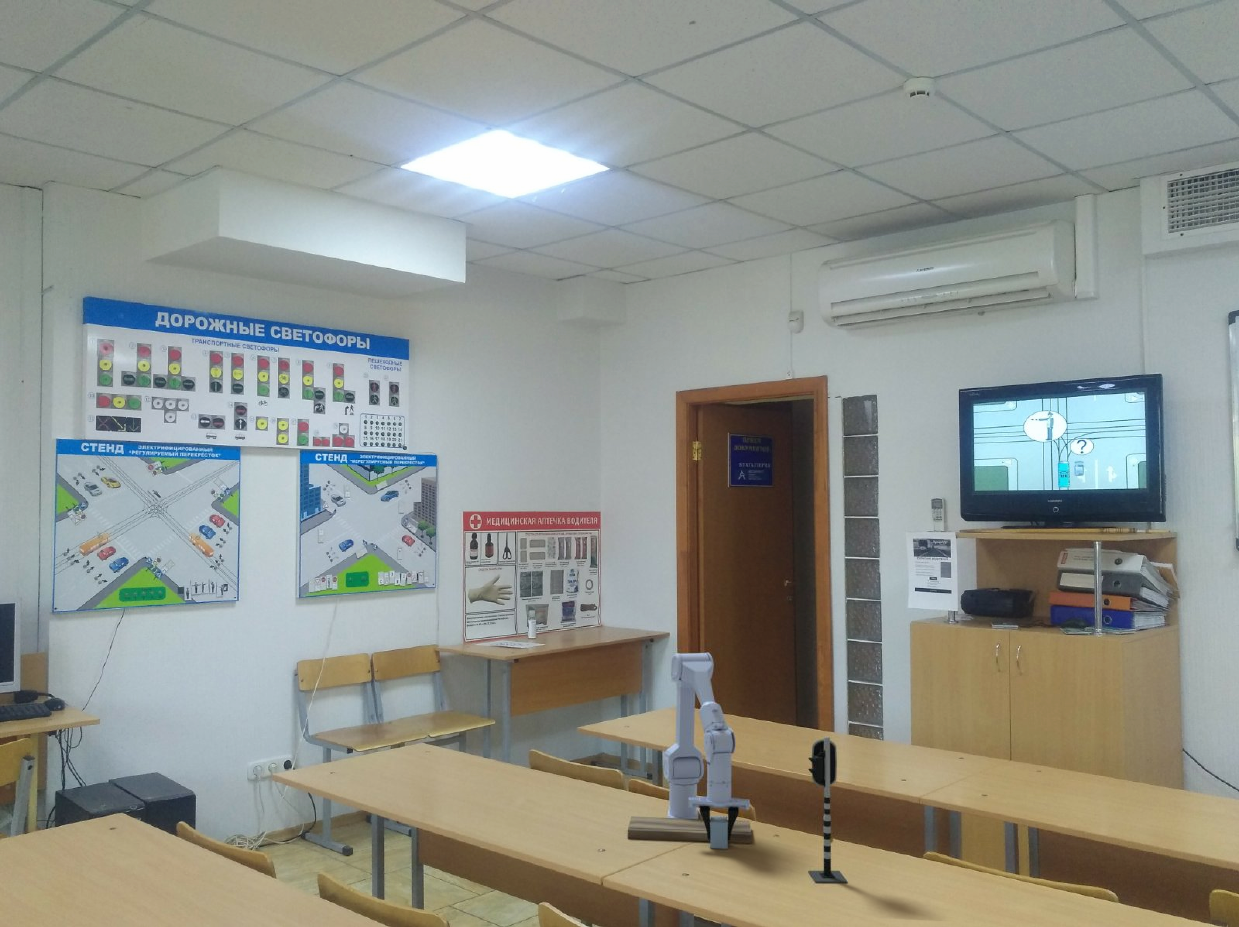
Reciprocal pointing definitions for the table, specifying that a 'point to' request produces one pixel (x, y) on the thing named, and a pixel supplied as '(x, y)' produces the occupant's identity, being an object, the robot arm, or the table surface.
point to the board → (682, 829)
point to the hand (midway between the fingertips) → (718, 838)
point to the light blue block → (719, 832)
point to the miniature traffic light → (825, 802)
